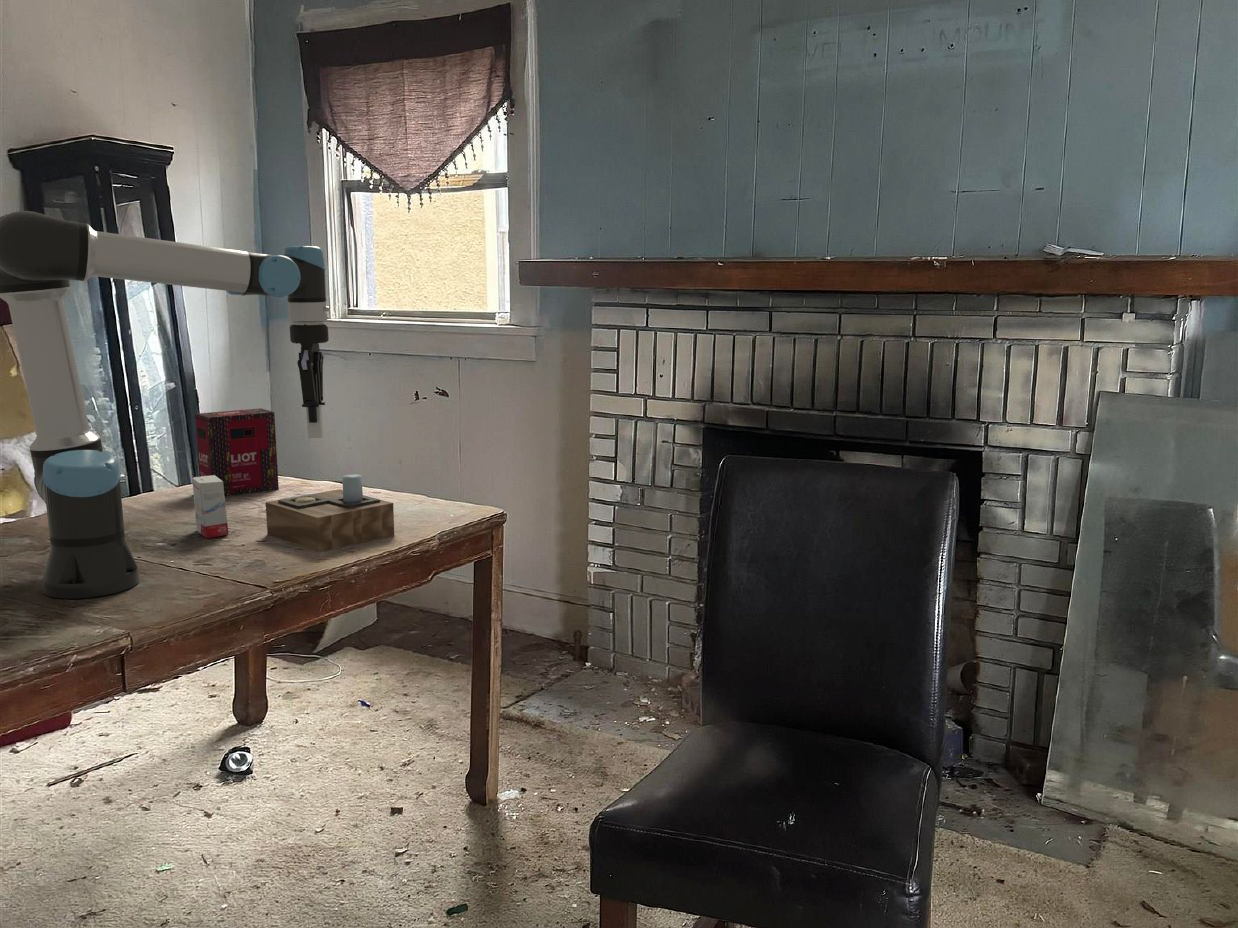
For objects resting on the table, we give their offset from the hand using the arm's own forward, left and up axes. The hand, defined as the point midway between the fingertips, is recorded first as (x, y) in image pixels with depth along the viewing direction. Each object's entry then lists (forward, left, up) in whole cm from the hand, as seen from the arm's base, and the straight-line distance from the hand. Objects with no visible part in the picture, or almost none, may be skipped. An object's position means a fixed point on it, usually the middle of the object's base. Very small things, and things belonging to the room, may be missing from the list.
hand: (315, 437), depth 212 cm
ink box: (-15, +18, -21) cm, 31 cm away
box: (+10, +53, -21) cm, 58 cm away
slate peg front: (+5, -5, -16) cm, 17 cm away
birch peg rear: (-2, +2, -21) cm, 21 cm away
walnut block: (+1, -2, -21) cm, 21 cm away
